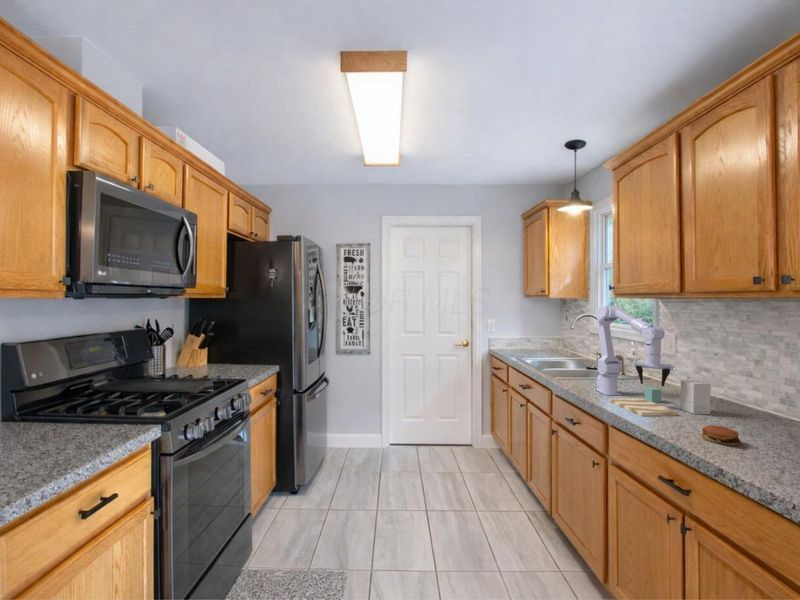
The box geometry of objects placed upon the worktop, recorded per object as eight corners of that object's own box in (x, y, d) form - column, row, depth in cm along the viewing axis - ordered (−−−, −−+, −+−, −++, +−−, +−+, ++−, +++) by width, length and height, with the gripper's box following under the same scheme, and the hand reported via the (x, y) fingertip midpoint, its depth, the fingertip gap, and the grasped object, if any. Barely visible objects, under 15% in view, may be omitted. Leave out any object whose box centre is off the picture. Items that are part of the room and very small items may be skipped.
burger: (695, 435, 128) (695, 421, 128) (725, 437, 127) (725, 423, 127) (715, 446, 118) (715, 432, 118) (747, 448, 117) (748, 434, 117)
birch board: (609, 401, 168) (609, 398, 168) (642, 401, 169) (642, 398, 169) (641, 416, 148) (641, 412, 148) (678, 415, 149) (678, 411, 149)
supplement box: (711, 414, 151) (711, 384, 151) (692, 414, 151) (693, 383, 151) (696, 409, 159) (697, 380, 158) (679, 408, 159) (680, 379, 159)
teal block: (644, 399, 172) (644, 387, 172) (653, 399, 173) (653, 387, 173) (651, 402, 168) (652, 389, 168) (661, 402, 168) (661, 389, 168)
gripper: (633, 353, 161) (633, 384, 161) (674, 356, 154) (673, 388, 154) (632, 351, 167) (632, 381, 167) (671, 354, 160) (671, 385, 160)
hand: (652, 384), depth 161 cm, fingers open, 7 cm apart
